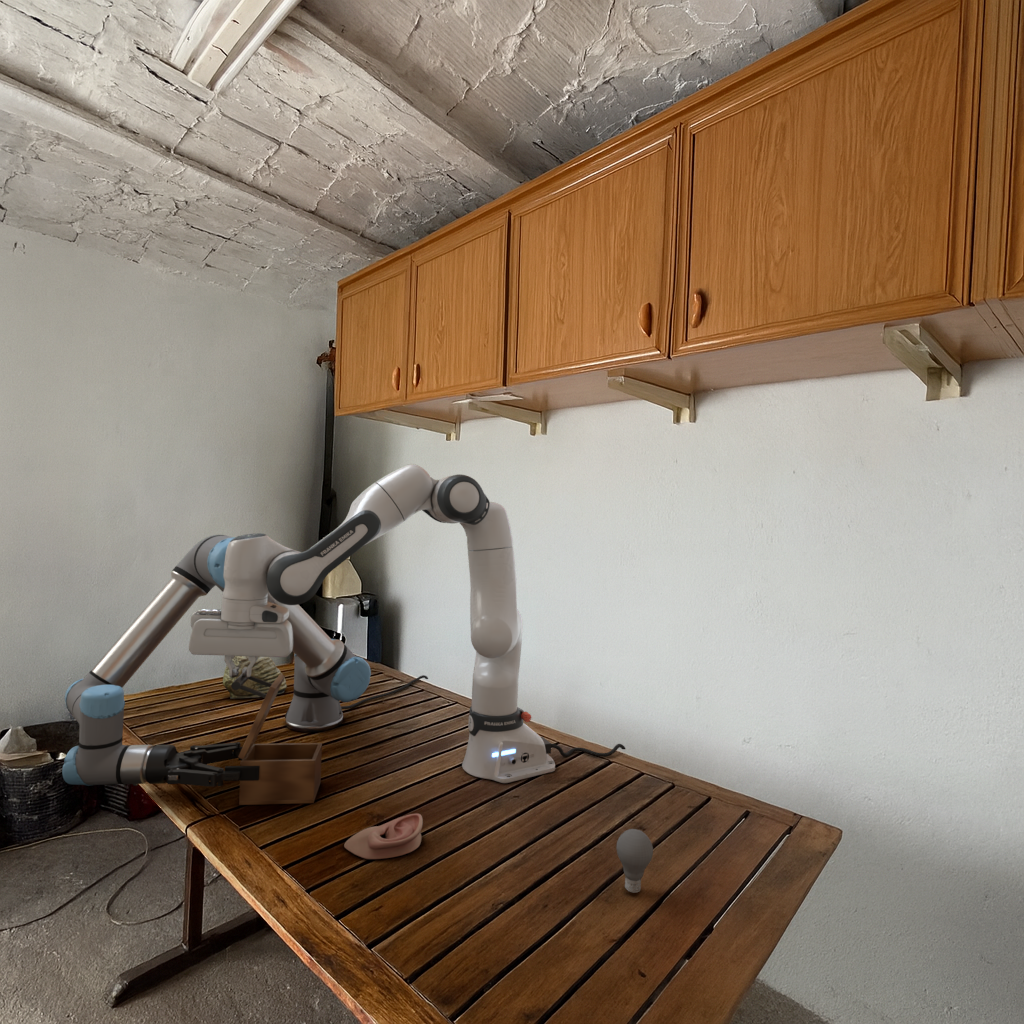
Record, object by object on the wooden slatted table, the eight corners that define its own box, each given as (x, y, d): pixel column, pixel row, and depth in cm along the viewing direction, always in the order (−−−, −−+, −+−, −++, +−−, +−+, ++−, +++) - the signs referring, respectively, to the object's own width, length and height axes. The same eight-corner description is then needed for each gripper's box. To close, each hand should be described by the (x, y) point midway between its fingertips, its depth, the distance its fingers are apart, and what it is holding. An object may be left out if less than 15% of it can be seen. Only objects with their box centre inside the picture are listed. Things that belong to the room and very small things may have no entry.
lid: (285, 675, 138) (248, 661, 137) (275, 688, 129) (235, 673, 128) (255, 741, 138) (217, 727, 137) (243, 759, 129) (203, 744, 127)
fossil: (218, 695, 195) (220, 647, 195) (278, 685, 208) (279, 640, 207) (228, 703, 189) (230, 653, 188) (289, 692, 201) (290, 645, 201)
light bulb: (610, 879, 108) (613, 822, 108) (644, 879, 109) (647, 822, 109) (619, 902, 102) (622, 840, 102) (655, 901, 103) (658, 840, 103)
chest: (320, 782, 140) (322, 742, 140) (313, 803, 131) (315, 760, 131) (251, 784, 138) (252, 743, 138) (238, 805, 129) (240, 761, 129)
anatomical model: (336, 832, 112) (364, 802, 124) (336, 854, 112) (363, 822, 124) (407, 843, 110) (429, 812, 121) (406, 866, 110) (428, 832, 121)
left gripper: (171, 760, 142) (275, 759, 145) (126, 808, 120) (250, 805, 123) (172, 727, 141) (277, 726, 145) (127, 768, 120) (251, 767, 123)
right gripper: (186, 611, 128) (181, 679, 128) (291, 615, 131) (287, 681, 131) (196, 606, 134) (192, 670, 134) (296, 610, 137) (292, 673, 137)
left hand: (264, 762), depth 134 cm, fingers closed on chest, 9 cm apart
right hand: (240, 676), depth 133 cm, fingers closed
